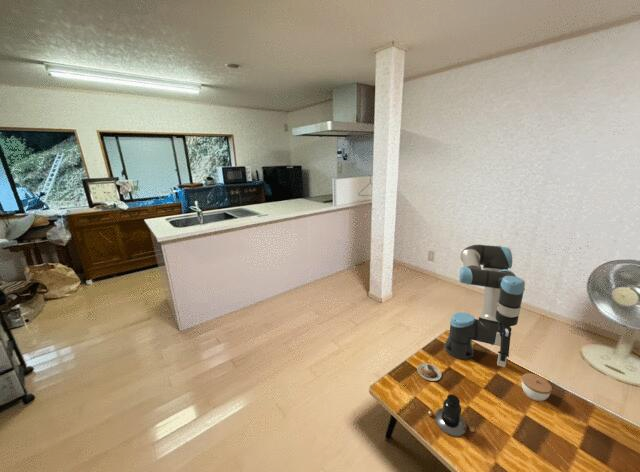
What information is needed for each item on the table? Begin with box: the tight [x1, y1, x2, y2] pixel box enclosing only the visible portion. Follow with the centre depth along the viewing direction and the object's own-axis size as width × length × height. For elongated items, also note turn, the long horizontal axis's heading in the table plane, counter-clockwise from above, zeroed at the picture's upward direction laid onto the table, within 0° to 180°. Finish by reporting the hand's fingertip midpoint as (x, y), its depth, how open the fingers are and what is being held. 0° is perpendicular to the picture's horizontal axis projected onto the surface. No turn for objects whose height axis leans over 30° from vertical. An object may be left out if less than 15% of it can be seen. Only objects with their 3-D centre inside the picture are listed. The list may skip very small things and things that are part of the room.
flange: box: [427, 407, 475, 438], centre depth 111 cm, size 12×18×2 cm, turn 61°
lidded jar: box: [521, 372, 553, 402], centre depth 121 cm, size 11×11×9 cm
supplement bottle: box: [442, 394, 462, 428], centre depth 109 cm, size 7×7×12 cm
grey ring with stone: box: [417, 362, 443, 382], centre depth 137 cm, size 12×12×5 cm
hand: (499, 355), depth 112 cm, fingers open, 13 cm apart
